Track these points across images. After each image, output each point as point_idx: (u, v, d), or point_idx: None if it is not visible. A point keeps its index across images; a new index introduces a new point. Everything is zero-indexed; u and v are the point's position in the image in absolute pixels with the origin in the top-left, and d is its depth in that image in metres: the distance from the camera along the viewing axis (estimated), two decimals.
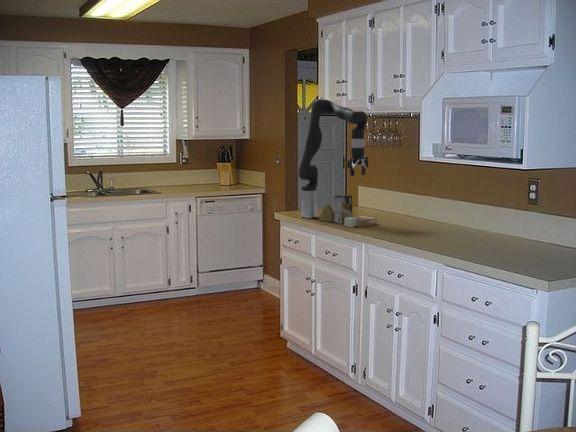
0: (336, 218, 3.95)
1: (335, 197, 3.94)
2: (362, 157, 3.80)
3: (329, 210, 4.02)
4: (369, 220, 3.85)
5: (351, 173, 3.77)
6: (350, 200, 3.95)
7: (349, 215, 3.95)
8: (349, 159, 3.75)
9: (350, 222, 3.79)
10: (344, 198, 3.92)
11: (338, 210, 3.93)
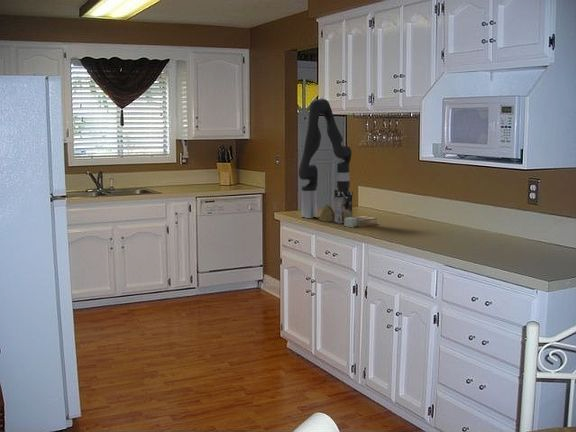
0: (336, 218, 3.95)
1: (335, 197, 3.94)
2: None
3: (329, 210, 4.02)
4: (369, 220, 3.85)
5: None
6: None
7: (349, 215, 3.96)
8: (351, 193, 3.90)
9: (350, 222, 3.79)
10: (344, 198, 3.92)
11: (338, 210, 3.93)
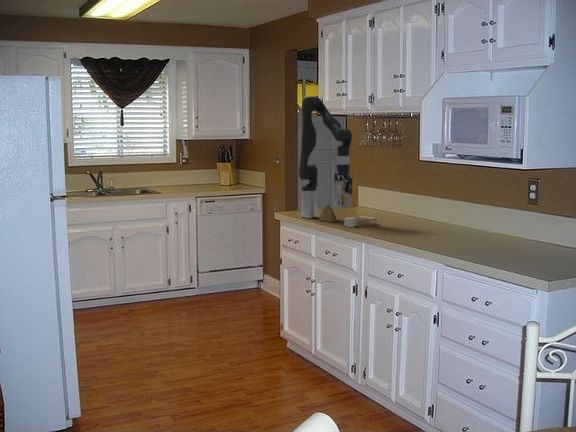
0: (336, 202, 3.94)
1: (335, 180, 3.92)
2: None
3: (329, 210, 4.02)
4: (369, 220, 3.85)
5: None
6: None
7: (349, 199, 3.94)
8: (351, 176, 3.88)
9: (350, 222, 3.79)
10: (344, 181, 3.90)
11: (338, 194, 3.92)
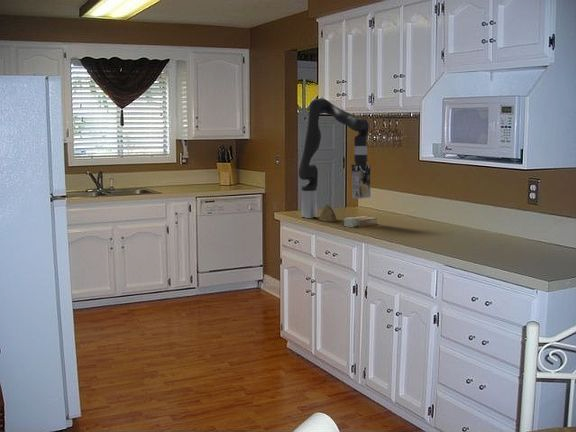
0: (354, 193, 3.86)
1: (352, 171, 3.84)
2: None
3: (329, 210, 4.02)
4: (369, 220, 3.85)
5: None
6: None
7: (367, 190, 3.86)
8: (369, 166, 3.80)
9: (350, 222, 3.79)
10: (362, 172, 3.82)
11: (356, 185, 3.84)
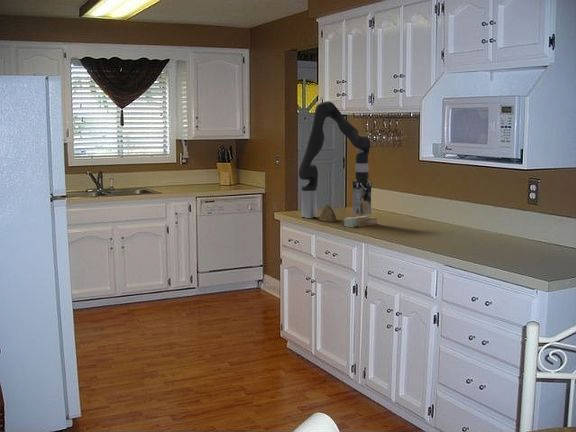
0: (354, 210, 3.87)
1: (354, 188, 3.86)
2: None
3: (329, 210, 4.02)
4: (369, 220, 3.85)
5: None
6: None
7: (368, 207, 3.88)
8: (370, 184, 3.82)
9: (350, 222, 3.79)
10: (363, 189, 3.84)
11: (357, 202, 3.85)
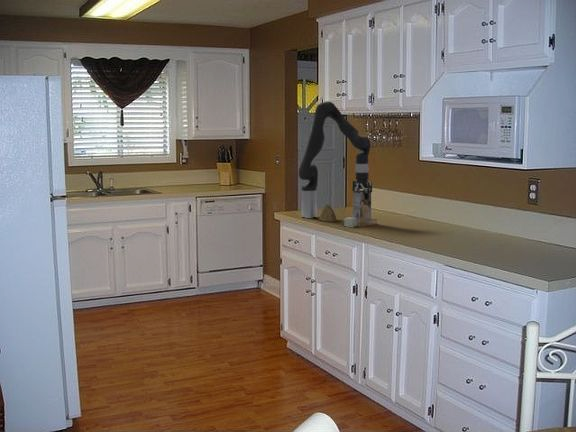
0: (354, 214, 3.88)
1: (354, 192, 3.86)
2: None
3: (329, 210, 4.02)
4: (369, 220, 3.85)
5: None
6: (369, 195, 3.87)
7: (368, 211, 3.88)
8: (370, 183, 3.81)
9: (350, 222, 3.79)
10: (363, 193, 3.84)
11: (357, 206, 3.86)
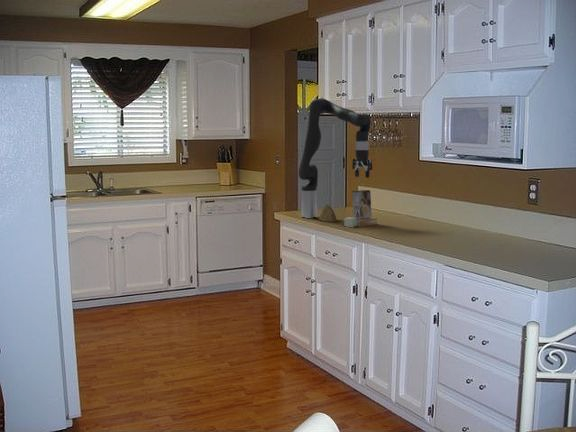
0: (355, 213, 3.88)
1: (353, 192, 3.87)
2: None
3: (329, 210, 4.02)
4: (369, 220, 3.85)
5: None
6: (368, 195, 3.88)
7: (368, 210, 3.88)
8: (370, 161, 3.80)
9: (350, 222, 3.79)
10: (362, 193, 3.85)
11: (356, 205, 3.86)
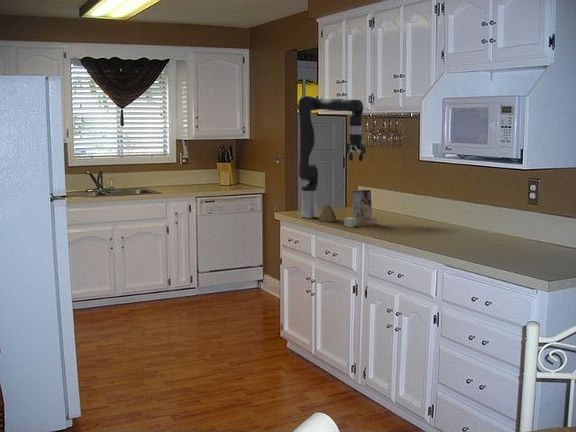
0: (355, 214, 3.87)
1: (353, 192, 3.86)
2: None
3: (329, 210, 4.02)
4: (369, 220, 3.85)
5: None
6: (369, 195, 3.87)
7: (368, 210, 3.87)
8: (364, 145, 3.94)
9: (350, 222, 3.79)
10: (362, 193, 3.84)
11: (357, 206, 3.85)
